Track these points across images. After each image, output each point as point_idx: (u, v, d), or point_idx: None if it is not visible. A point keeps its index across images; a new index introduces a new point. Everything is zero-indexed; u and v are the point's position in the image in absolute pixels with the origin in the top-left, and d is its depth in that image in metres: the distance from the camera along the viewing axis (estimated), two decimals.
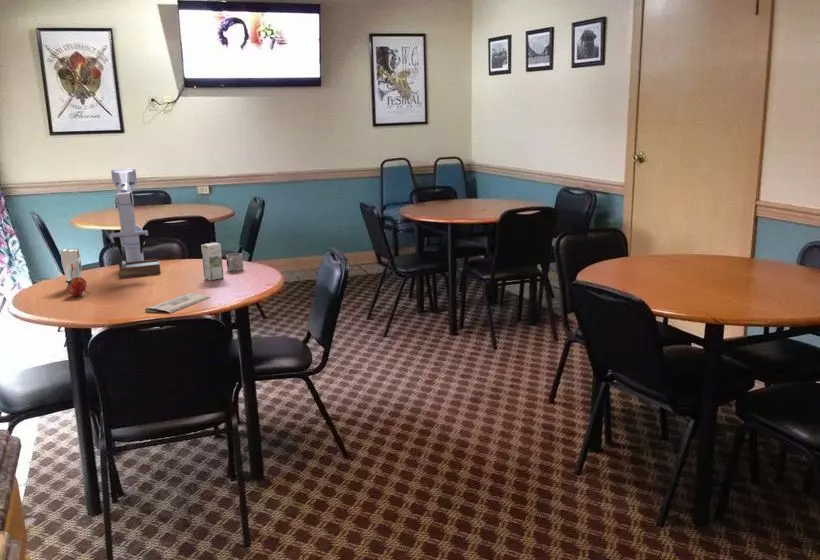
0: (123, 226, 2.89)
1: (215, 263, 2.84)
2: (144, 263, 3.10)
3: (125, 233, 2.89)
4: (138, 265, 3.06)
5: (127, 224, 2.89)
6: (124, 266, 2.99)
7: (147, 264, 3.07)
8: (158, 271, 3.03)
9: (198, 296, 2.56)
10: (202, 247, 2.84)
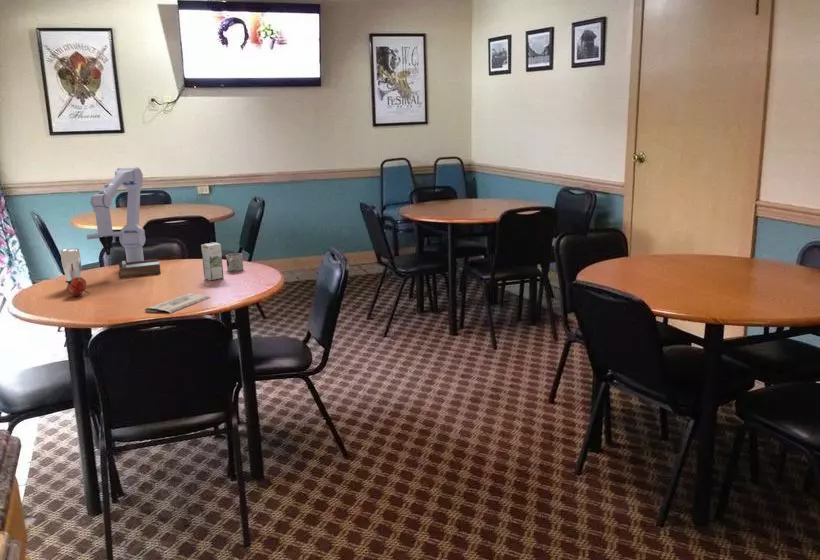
0: (99, 227, 2.94)
1: (215, 263, 2.84)
2: (144, 263, 3.10)
3: (101, 234, 2.95)
4: (138, 265, 3.06)
5: (103, 225, 2.94)
6: (124, 266, 2.99)
7: (147, 264, 3.07)
8: (158, 271, 3.03)
9: (198, 296, 2.55)
10: (202, 247, 2.84)
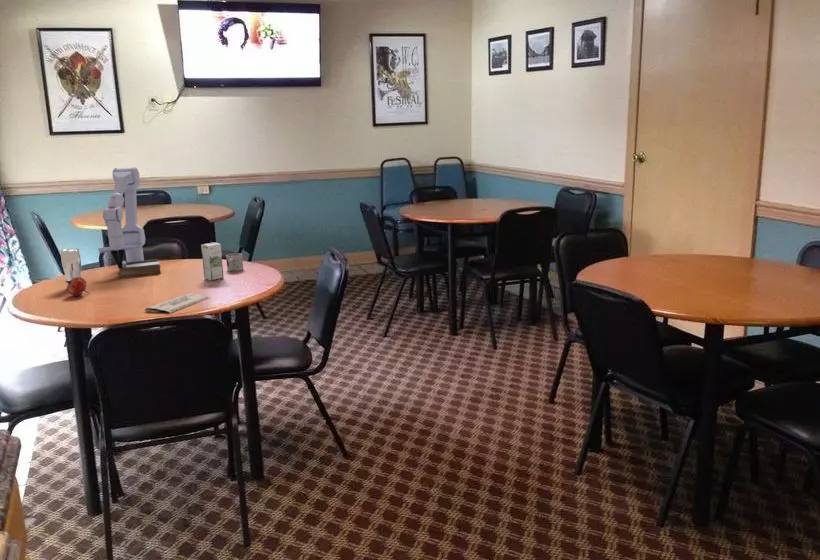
0: (111, 241, 2.97)
1: (215, 263, 2.84)
2: (144, 263, 3.10)
3: (113, 247, 2.98)
4: (138, 265, 3.06)
5: (115, 239, 2.97)
6: (124, 266, 2.99)
7: (147, 264, 3.07)
8: (158, 271, 3.03)
9: (198, 296, 2.55)
10: (202, 247, 2.84)
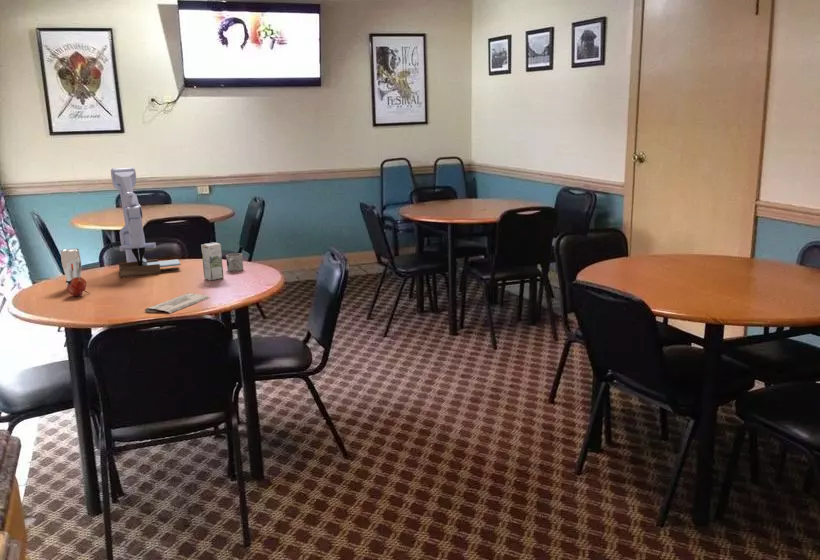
0: (132, 239, 3.00)
1: (215, 263, 2.84)
2: (164, 261, 3.13)
3: (134, 245, 3.00)
4: (158, 263, 3.09)
5: (136, 237, 3.00)
6: (145, 264, 3.02)
7: (167, 262, 3.10)
8: (158, 271, 3.03)
9: (198, 296, 2.55)
10: (202, 247, 2.84)
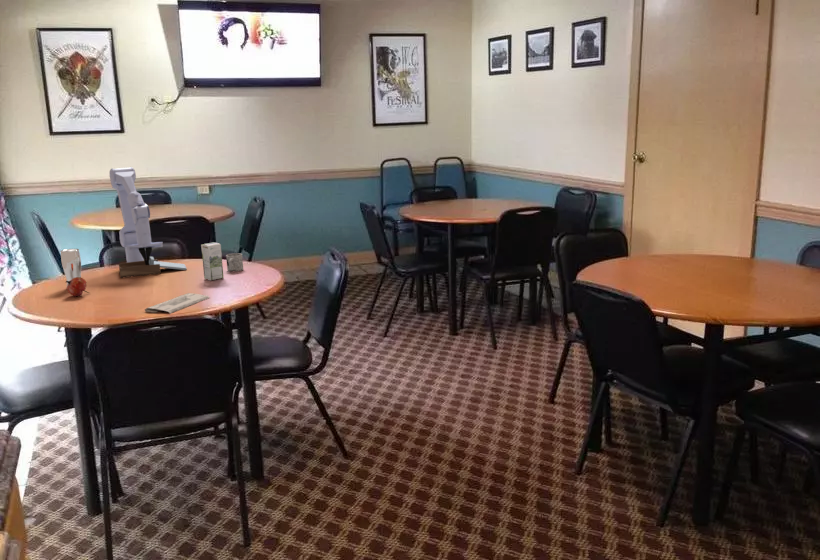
0: (139, 238, 3.01)
1: (215, 263, 2.84)
2: (170, 263, 3.14)
3: (141, 245, 3.02)
4: (165, 263, 3.10)
5: (143, 236, 3.01)
6: (152, 261, 3.03)
7: (173, 264, 3.11)
8: (158, 271, 3.03)
9: (198, 296, 2.55)
10: (202, 247, 2.84)
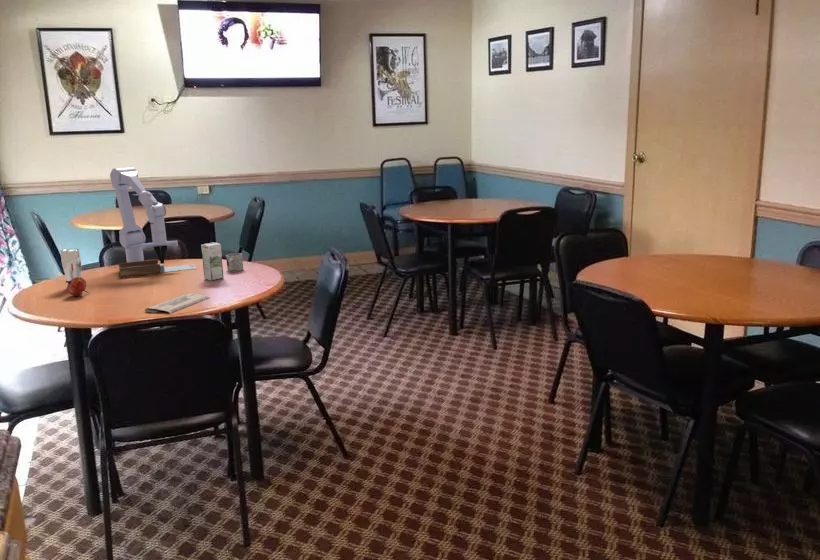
0: (154, 237, 3.04)
1: (215, 263, 2.84)
2: (181, 266, 3.16)
3: (156, 243, 3.04)
4: (175, 268, 3.12)
5: (158, 235, 3.03)
6: (162, 269, 3.06)
7: (184, 267, 3.13)
8: (158, 271, 3.03)
9: (198, 296, 2.55)
10: (202, 247, 2.84)
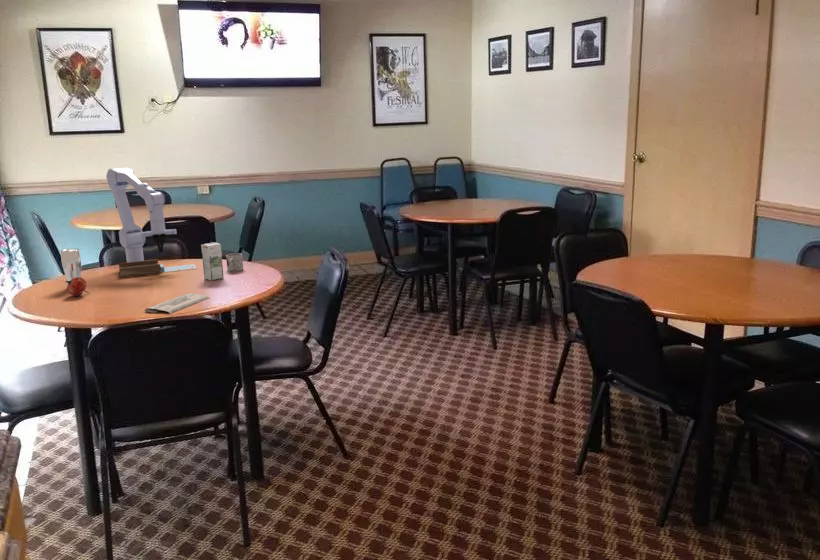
0: (153, 225, 3.02)
1: (215, 263, 2.84)
2: (181, 266, 3.16)
3: (155, 232, 3.03)
4: (175, 268, 3.12)
5: (157, 223, 3.02)
6: (162, 269, 3.06)
7: (184, 267, 3.13)
8: (158, 271, 3.03)
9: (198, 296, 2.55)
10: (202, 247, 2.84)
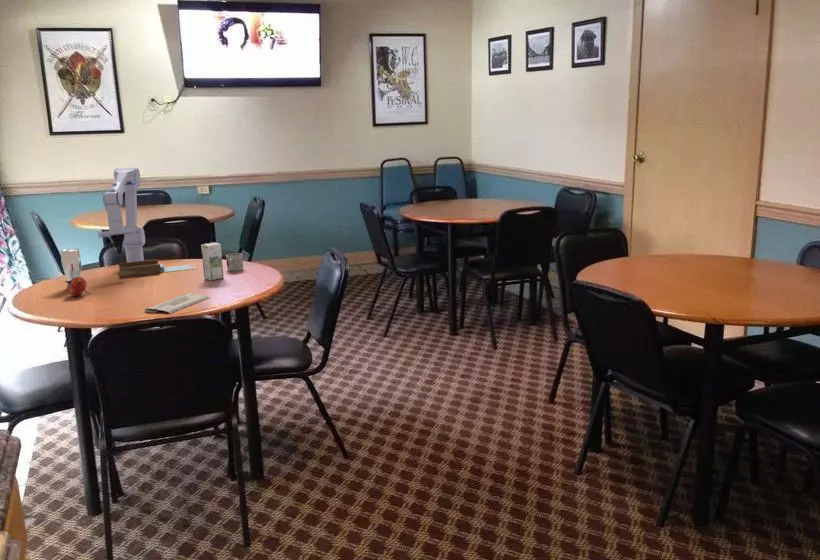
0: (111, 225, 2.94)
1: (215, 263, 2.84)
2: (181, 266, 3.16)
3: (113, 232, 2.94)
4: (175, 268, 3.12)
5: (115, 223, 2.94)
6: (162, 269, 3.06)
7: (184, 267, 3.13)
8: (158, 271, 3.03)
9: (197, 296, 2.55)
10: (202, 247, 2.84)
